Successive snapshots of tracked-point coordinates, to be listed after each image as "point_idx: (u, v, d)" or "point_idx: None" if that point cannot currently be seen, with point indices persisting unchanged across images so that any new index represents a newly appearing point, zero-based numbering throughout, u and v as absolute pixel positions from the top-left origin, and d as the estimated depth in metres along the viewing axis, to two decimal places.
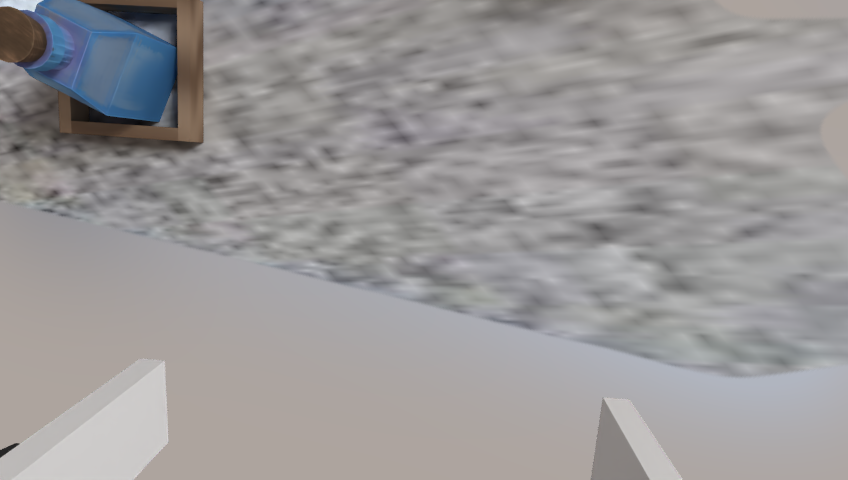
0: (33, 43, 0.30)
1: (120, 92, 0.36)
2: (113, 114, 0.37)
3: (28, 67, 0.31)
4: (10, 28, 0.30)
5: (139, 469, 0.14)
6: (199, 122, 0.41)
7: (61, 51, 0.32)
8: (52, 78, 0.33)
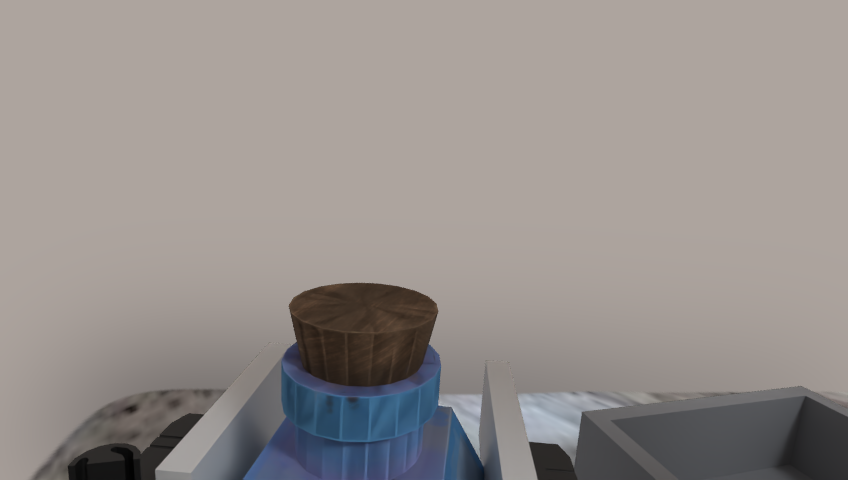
0: (356, 334, 0.09)
1: None
2: None
3: (285, 363, 0.11)
4: (382, 305, 0.11)
5: None
6: None
7: (351, 431, 0.10)
8: (267, 446, 0.11)
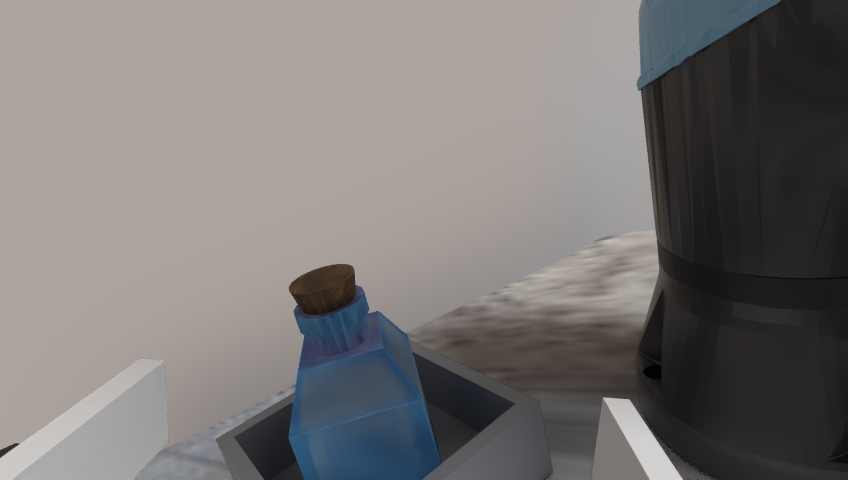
0: (324, 290, 0.22)
1: (331, 435, 0.23)
2: (295, 448, 0.23)
3: (296, 315, 0.24)
4: (329, 275, 0.24)
5: (139, 469, 0.14)
6: None
7: (336, 328, 0.23)
8: (302, 355, 0.24)
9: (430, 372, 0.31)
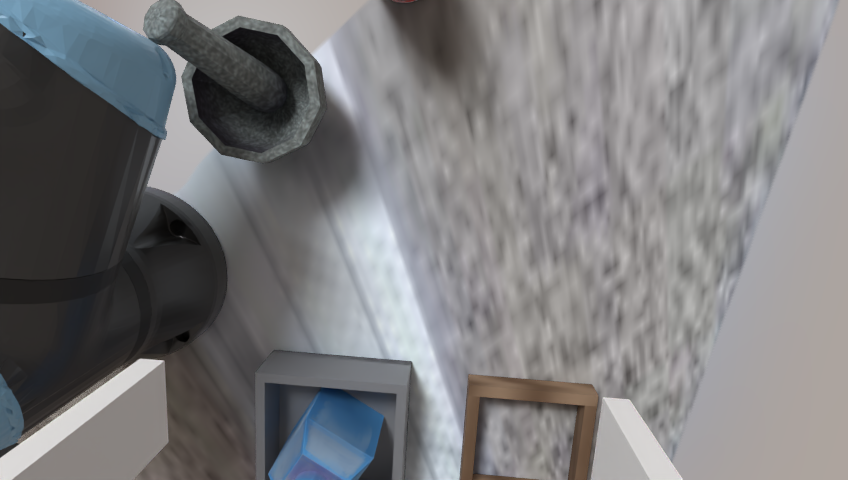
0: None
1: (355, 442, 0.40)
2: (373, 453, 0.40)
3: None
4: None
5: (139, 469, 0.14)
6: (575, 385, 0.45)
7: None
8: None
9: (268, 453, 0.44)
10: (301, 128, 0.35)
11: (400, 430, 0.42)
